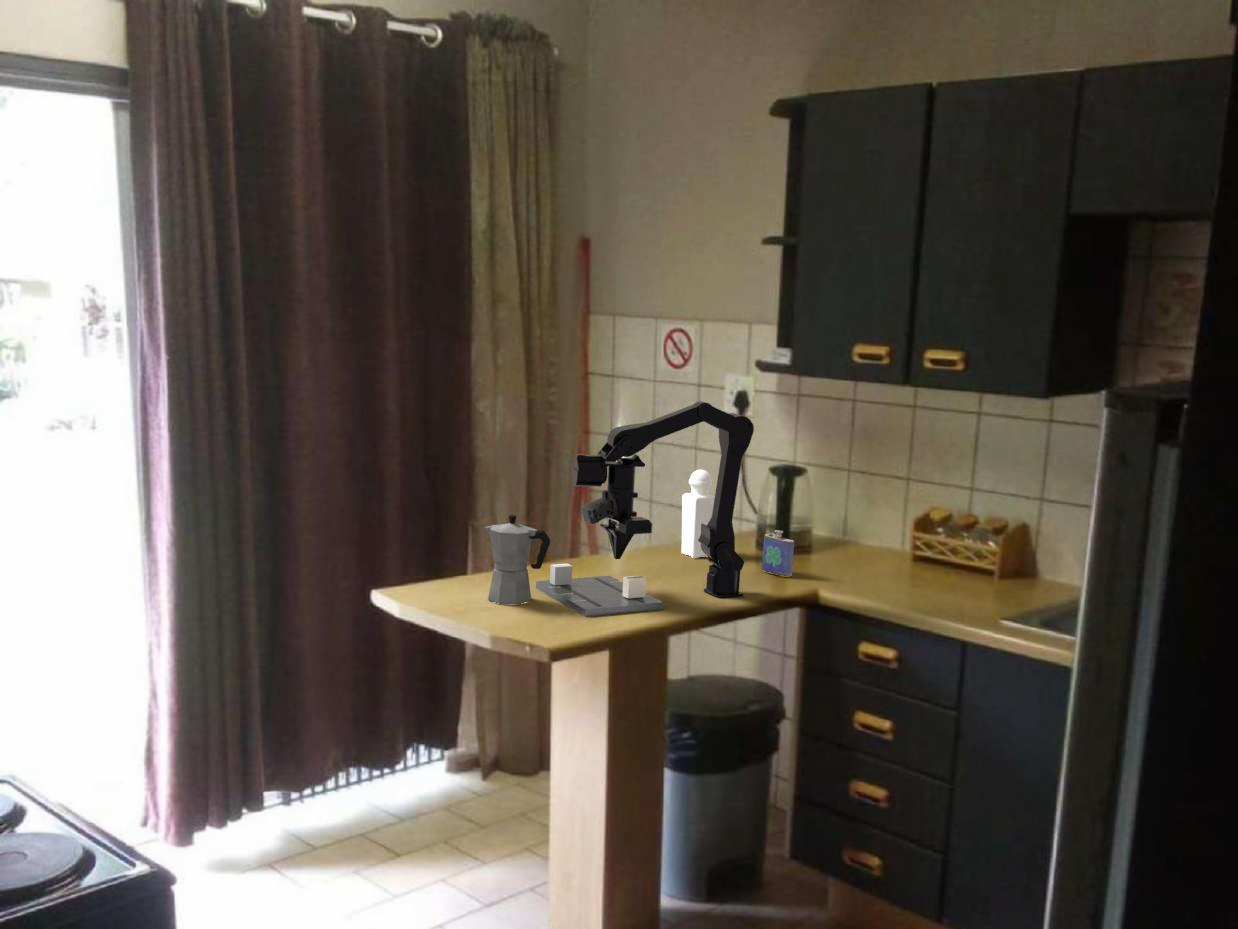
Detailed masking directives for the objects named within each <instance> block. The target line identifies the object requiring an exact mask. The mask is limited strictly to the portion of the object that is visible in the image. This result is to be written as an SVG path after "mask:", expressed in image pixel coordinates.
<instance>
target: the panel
mask: <svg viewBox="0 0 1238 929" xmlns="http://www.w3.org/2000/svg"><path fill="white" fill-rule="evenodd" d="M535 589H536V590H538V589H539V590H538V591H540V592H542V593H543V592H544V594H545V595H547V596H548V597H550V596H551V597H550V598H552V599H554V600H555V599H556V601H557V602H559V603H561V604H562V605H564V606H566V607H567V606H568V608H569V609H571V610H573V611H575V612H576V613H578V614H579V615H581V616H583V617H587V616H588V617H596V616H597V617H598V616H606V615H608V616H609V615H617V614H618V613H620V614H628V613H639V612H648V611H658V610H661V611H662V610H663V609H664V601H662V600H661V599H657V598H655V597H654V596H652V595H650V594H647V593H646V592H645V597H639V598H626V597H624V596H622V593H623V581H622V580H619V579H617V578H615V577H613V576H611V575H599V576H589V577H588V576H587V577H574V578H573V577H572V584H567V585H553V584H551V583H550V579H547V580H537V581H535ZM588 617H587V618H588Z"/></svg>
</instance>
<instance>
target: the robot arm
mask: <svg viewBox="0 0 1238 929" xmlns="http://www.w3.org/2000/svg"><path fill="white" fill-rule="evenodd" d="M703 422H704V423H706V424H708V425H710V426H711V427H714V428H715V429H718V442H719V447H720V462H719V468H718V474H717V481H716V488H715V493H714V496H715V499H714V506H713V512H712V517H711V519H710V521H709V523H708V524H707V525H705V524H701V535H700V538H699V539H698V541H699V542H700V543H701V549H702V551H703V552H704V554H706V555H707V556H708V557H707V559H708V562H709V563H711V564H709V566H708V567H709V568H708V572H707V575H706V587H705V588H703V591H704V592H706V593H707V594H710V595H712V596H714V597H717V598H729V597H730V598H732V597H740V596H741V597H742V596H744V592H742V591H740V584H741V583H740V582H741V571H742V570H743V567H744V564H745V560H744V559H743V558H742V557H741V556H740V555H739V554H738V553H737V552H736V551H735V550H736V542H735V541H736V538H735V537H736V536H735V530H734V525H733V518H734V510H735V504H736V499H737V494H738V493H737V492H738V487H739V486H738V485H739V479H740V473H741V467H742V466H741V465H742V461H743V456H744V455H745V453H746V451H748V448H749V447H750V445H751V441H752V437H753V435H754V430H755V427H754V423H753V421H751V419H750V418H748V417H747V416H745V415H744V416H743V415H741V414H739V413H738V414H737V413H735V412H731V413H728V412H726V411H723V410H721V409H720V408H717V407H715V406H713V405H712V404H711V403H709V402H706V401H703V400H700V401H699V400H698V401H696V402H694V403H693V404H690V405H688V406H686V407H683V408H680V409H678V410H675V411H673V412H670V413H667V414H665V415H663V416H660V417H657V418H654V419H652V420H649V421H646V422H641V423H631V424H625V425H621V426H616V427H614V428H612V429H611V430H610V431H609V433H608V435H607V440H606V442H605V443H604V445H603V446H602V447H601V449H600V450H598V452H597V453H596V454H585V453H584V454H583V453H576V454H575V456H574V457H575V459H574V460H573V465H572V468H571V480H572V485H573V487H587V488H588V487H592V488H593V487H597V488H598V487H602V485H603V484H605V483H606V482H607V486H606V487H607V488H606V489H603V491H602V492H601V498H600V497H599V498H597V499H594V500H592V501H590V502H587V503H585V504H582V505H581V506H580V510H581V514H582V517H583V521H584V522H588V523H590V524H591V525H595V524H597V523H598V524H599V522H600V521H602V523H600V524H599V527H600V528H602V529H603V530H604V531H605V532H606V533H607V535H608V536H607V537H608V538H609V542H610V548H611V551H612V555H613V558H614V559H615V560H620V559H622V556H623V554H624V553H625V550H626V549H627V547H628V545H629V544H630V542H631V540H632V539H633V537H634V536H635V535H642V534H645V535H646V534H652V533H653V523H652V521H651V520H650V519H647V518H646V517H642V516H637V515H638V512H637V511H636V510H634V499H635V498H636V499H637V498H638V497H639V492H637V491H635V479H636V468H637V467H638V468H645V467H646V463H645V462H643V460H642V459H641V458H640V456H639V455H638V453H639V452H641V451H642V450H644V449H645V448H647V447H648V446H649V445H650V444H652V443H653V442H654V441H657V440H659V439H661V438H664V437H666V436H669V435H673V434H674V433H677V432H679V431H683V430H684V429H687V428H690V427H693V426H695V425H698V424H700V423H703Z"/></svg>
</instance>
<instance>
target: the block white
mask: <svg viewBox="0 0 1238 929" xmlns="http://www.w3.org/2000/svg"><path fill="white" fill-rule="evenodd" d="M549 567H550V569H549V570H550V571H549V580H550V583H551V584H553V585H567V584H572V578H573V565H571V564H569V563H556V564H550V566H549Z"/></svg>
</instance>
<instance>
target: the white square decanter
mask: <svg viewBox="0 0 1238 929" xmlns="http://www.w3.org/2000/svg"><path fill="white" fill-rule="evenodd" d="M688 484H689V485H690V492H685V493H683V494H682V496H681V501H682V502H681V512H682V513H681V552H680V554H682V553H683V554H685V555H684V556H686V555H689V556H691V557H692V558H691V557H690V558H691V559H698V558H697V557H705V556H707V555H706V554H704V552H703V551H702V549H701V543H700V542H699V541H698V539H699V538H700V535H701V524H705V525H707V524H708V523H709V521H710V519H711V517H712V512H713V506H714V499H715V495H713V494H710V493H709V492H710V489H711V487H712V485H713V480H712V475H711V474H710V473H709V471H707V470H705V469H696V470H695V471H693V472H692V474H690V478H689V480H688ZM683 554H682V555H683Z"/></svg>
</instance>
